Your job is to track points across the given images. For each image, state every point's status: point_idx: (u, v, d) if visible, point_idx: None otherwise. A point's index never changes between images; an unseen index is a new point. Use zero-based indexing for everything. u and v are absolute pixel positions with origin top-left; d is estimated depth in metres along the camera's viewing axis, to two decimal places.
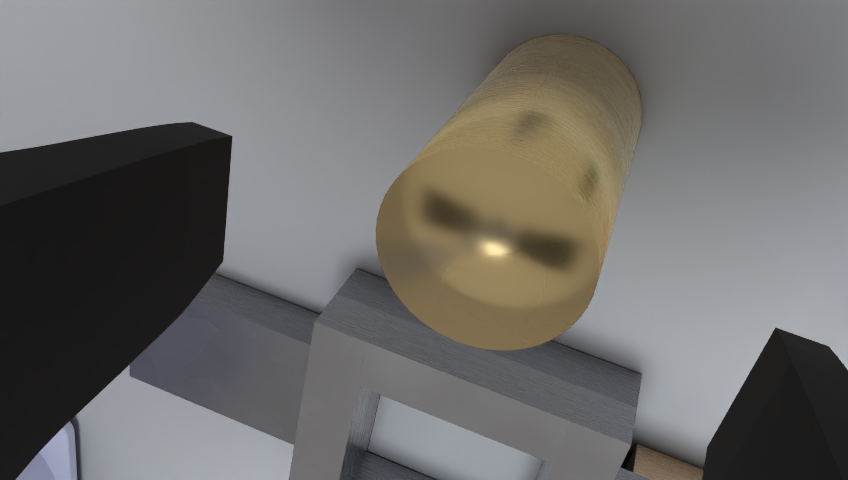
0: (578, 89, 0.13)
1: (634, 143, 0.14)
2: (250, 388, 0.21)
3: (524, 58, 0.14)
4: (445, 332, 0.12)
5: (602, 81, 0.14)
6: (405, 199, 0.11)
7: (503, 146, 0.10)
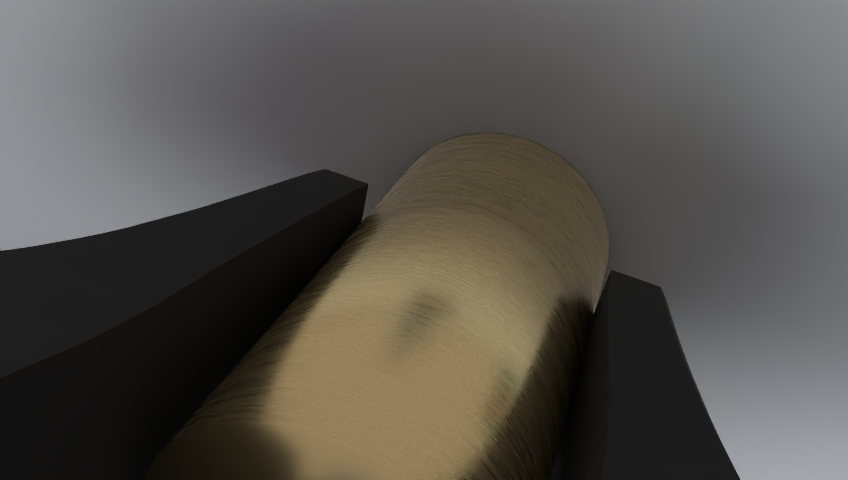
0: (499, 248, 0.08)
1: (594, 304, 0.10)
2: None
3: (429, 181, 0.09)
4: None
5: (543, 222, 0.09)
6: None
7: (330, 422, 0.06)
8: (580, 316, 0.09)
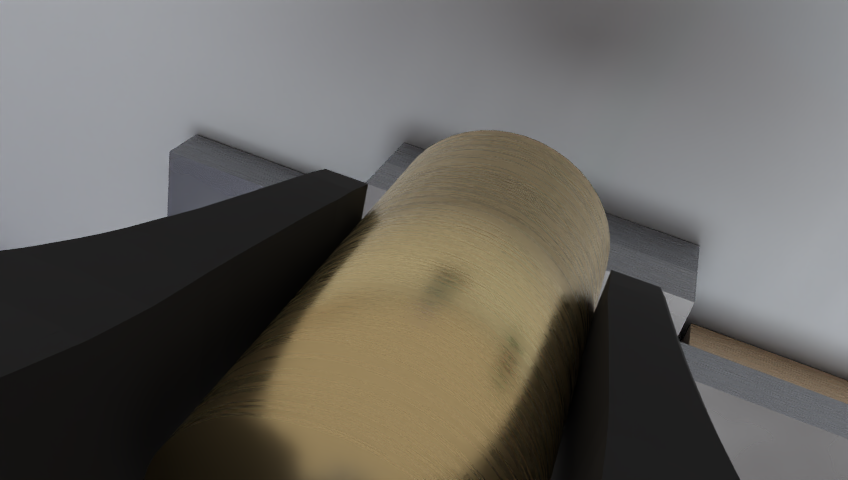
0: (500, 245, 0.08)
1: (595, 301, 0.10)
2: None
3: (430, 178, 0.09)
4: None
5: (544, 218, 0.09)
6: None
7: (331, 417, 0.06)
8: (581, 313, 0.09)
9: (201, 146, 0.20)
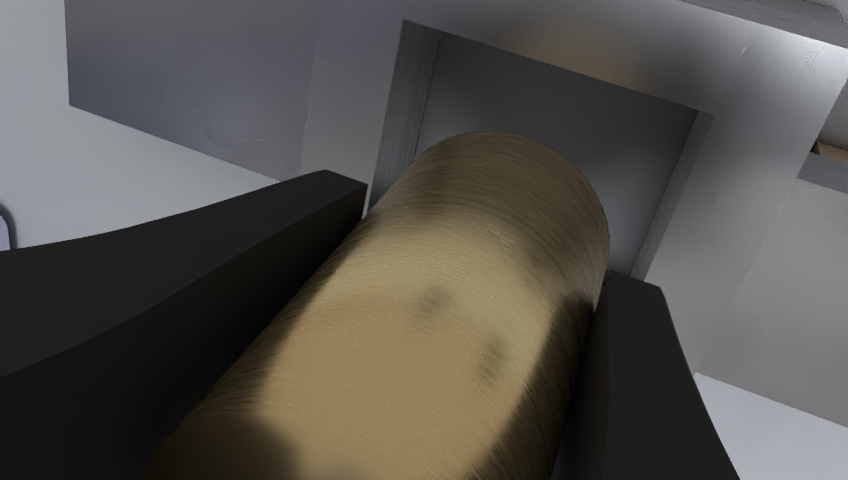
0: (500, 243, 0.08)
1: (595, 300, 0.10)
2: (238, 97, 0.15)
3: (429, 178, 0.09)
4: None
5: (543, 218, 0.09)
6: (178, 477, 0.06)
7: (331, 413, 0.06)
8: (581, 312, 0.09)
9: None
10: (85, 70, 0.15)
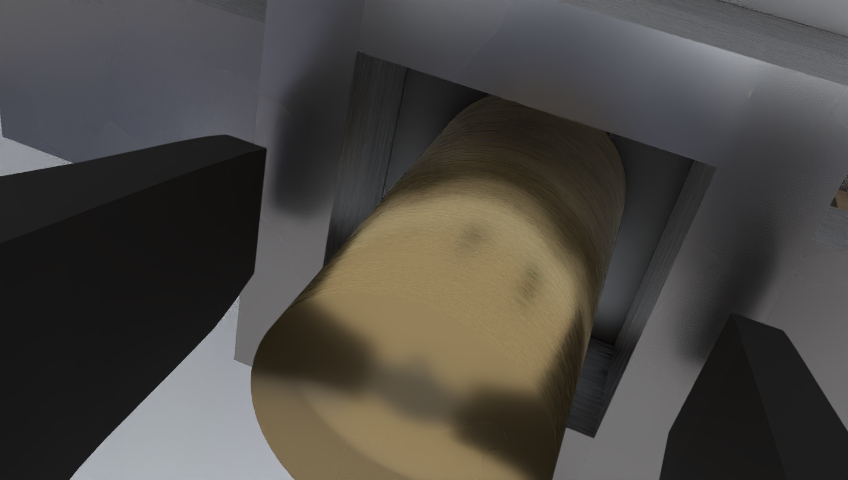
0: (536, 177, 0.10)
1: (614, 234, 0.11)
2: (183, 131, 0.13)
3: (472, 128, 0.11)
4: None
5: (571, 160, 0.10)
6: (284, 353, 0.08)
7: (415, 290, 0.07)
8: (604, 239, 0.10)
9: None
10: (17, 99, 0.14)
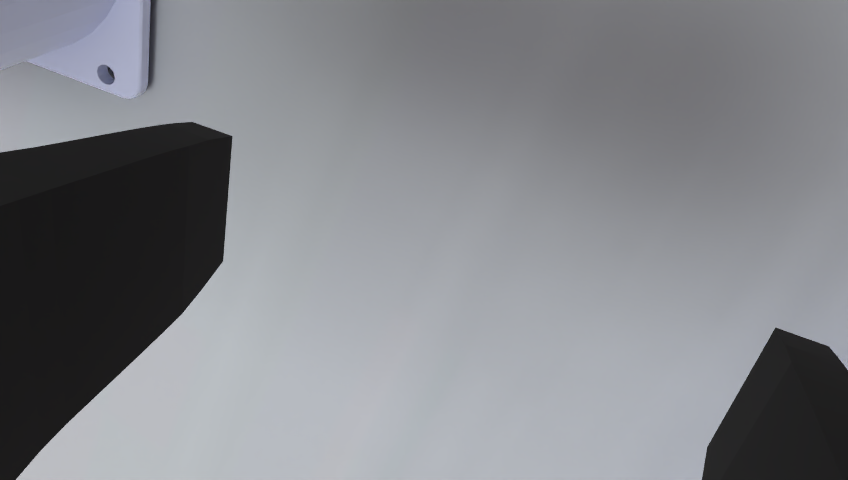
0: None
1: None
2: None
3: None
4: None
5: None
6: None
7: None
8: None
9: None
10: None
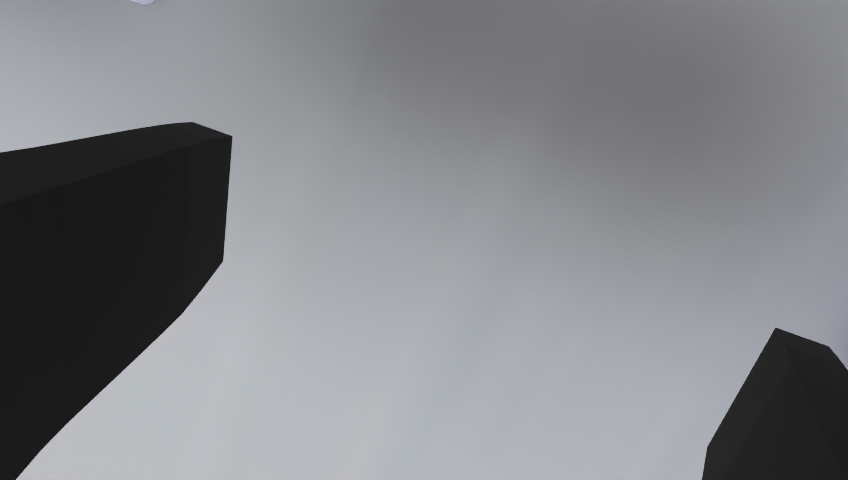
0: None
1: None
2: None
3: None
4: None
5: None
6: None
7: None
8: None
9: None
10: None
